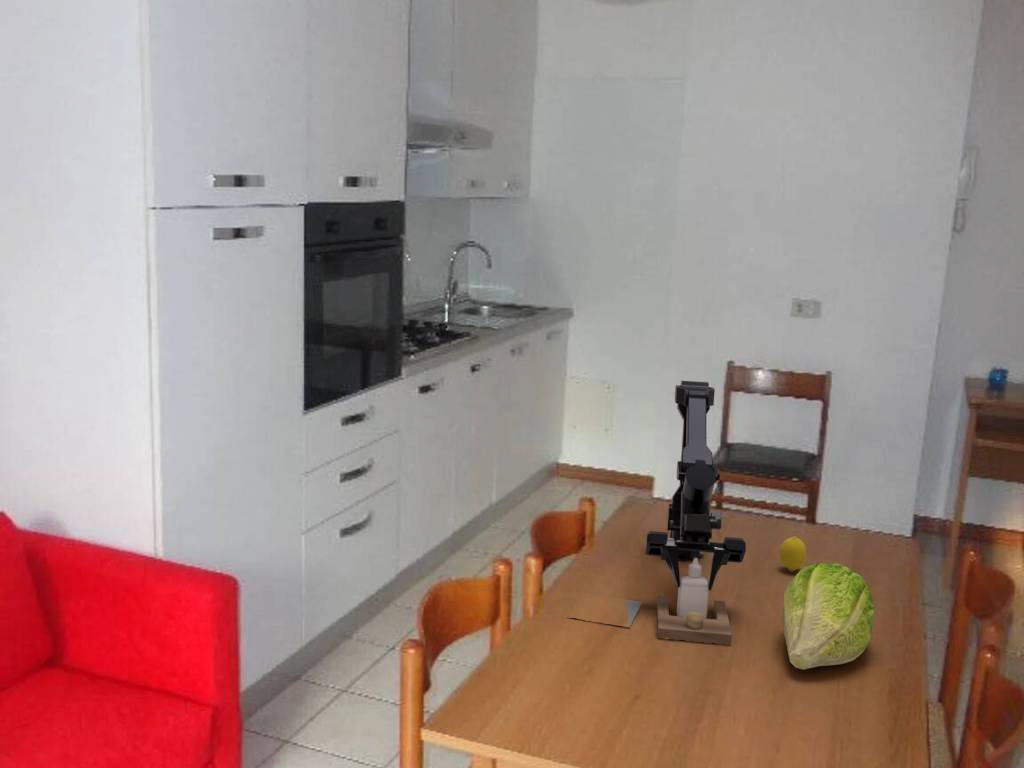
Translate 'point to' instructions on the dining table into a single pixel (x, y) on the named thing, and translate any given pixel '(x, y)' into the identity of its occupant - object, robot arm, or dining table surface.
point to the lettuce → (827, 616)
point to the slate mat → (632, 609)
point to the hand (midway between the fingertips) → (694, 588)
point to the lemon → (793, 553)
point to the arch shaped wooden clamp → (694, 624)
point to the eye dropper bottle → (693, 592)
